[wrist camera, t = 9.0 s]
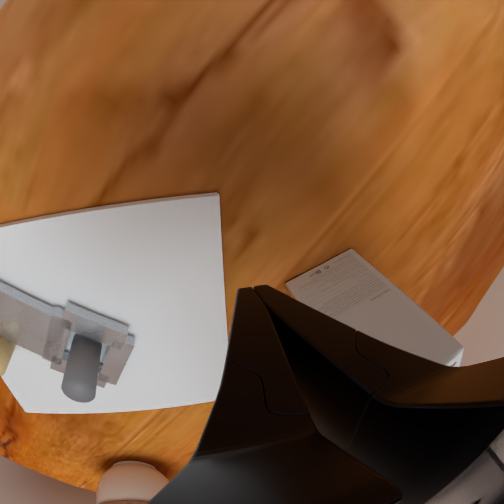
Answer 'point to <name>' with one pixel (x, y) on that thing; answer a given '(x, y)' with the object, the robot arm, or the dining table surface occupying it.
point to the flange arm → (62, 331)
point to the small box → (374, 307)
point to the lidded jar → (129, 483)
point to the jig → (123, 302)
